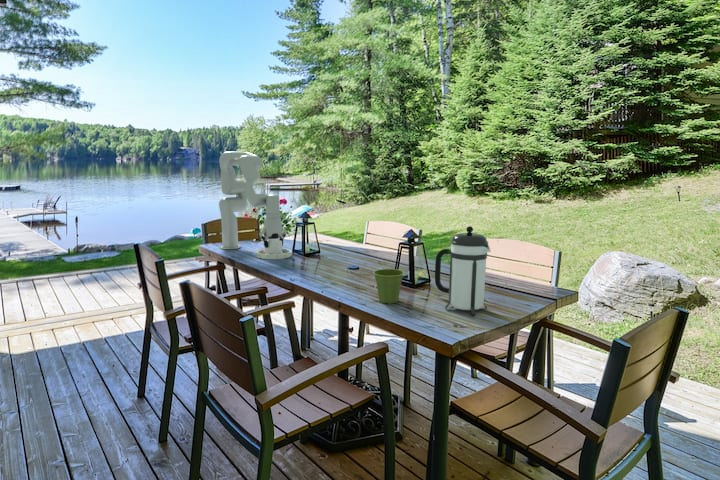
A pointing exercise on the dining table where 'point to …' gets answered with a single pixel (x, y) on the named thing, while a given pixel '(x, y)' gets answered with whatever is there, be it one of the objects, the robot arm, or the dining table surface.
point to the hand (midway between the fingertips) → (273, 246)
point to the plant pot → (388, 284)
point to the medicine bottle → (274, 244)
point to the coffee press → (465, 271)
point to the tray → (284, 254)
